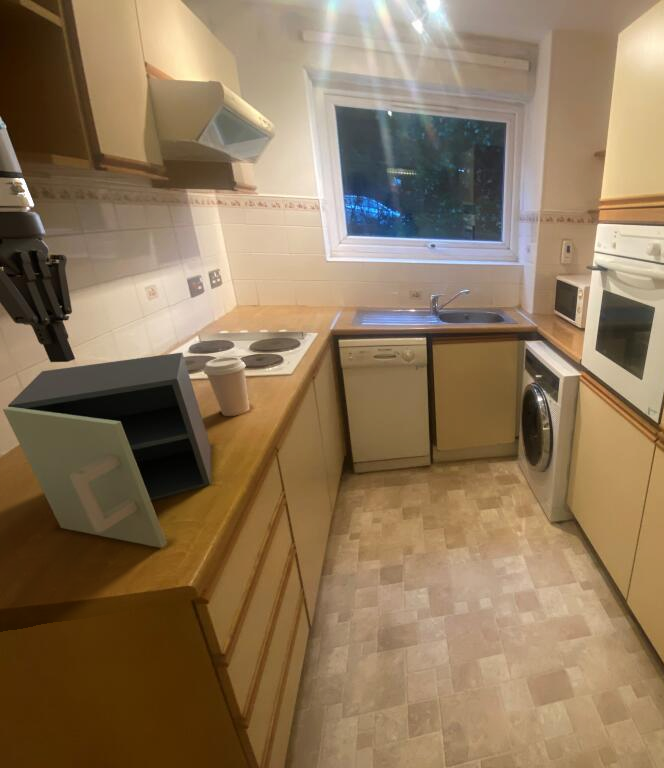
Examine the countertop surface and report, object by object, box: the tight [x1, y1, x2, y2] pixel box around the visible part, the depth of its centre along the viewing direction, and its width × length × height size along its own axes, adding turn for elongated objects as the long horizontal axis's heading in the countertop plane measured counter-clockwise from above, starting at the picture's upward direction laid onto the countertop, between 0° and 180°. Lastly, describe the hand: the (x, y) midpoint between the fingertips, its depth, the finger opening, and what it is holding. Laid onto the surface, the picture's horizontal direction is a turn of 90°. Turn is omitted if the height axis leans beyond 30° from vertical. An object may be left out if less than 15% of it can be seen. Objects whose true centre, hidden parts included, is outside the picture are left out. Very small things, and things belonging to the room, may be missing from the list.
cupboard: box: [7, 352, 211, 501], centre depth 86 cm, size 18×22×24 cm
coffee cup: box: [203, 356, 251, 417], centre depth 118 cm, size 10×10×15 cm
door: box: [2, 406, 168, 549], centre depth 68 cm, size 7×22×24 cm, turn 78°
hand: (62, 360), depth 73 cm, fingers closed
